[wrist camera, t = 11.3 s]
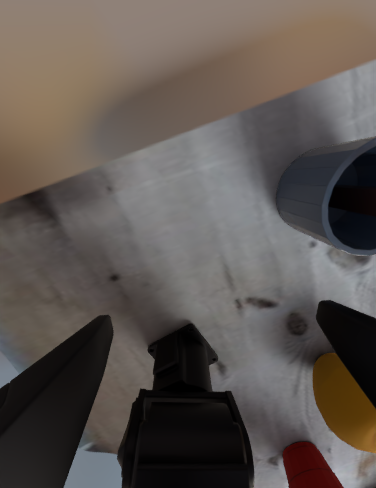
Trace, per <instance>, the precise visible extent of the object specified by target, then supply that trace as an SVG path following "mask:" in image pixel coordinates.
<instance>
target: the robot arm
mask: <svg viewBox="0 0 376 488" xmlns="http://www.w3.org/2000/svg"><path fill="white" fill-rule="evenodd" d="M316 320H317V322H318V324H319V326H320V328H321V329H322V331H323V333H324V334H325V336H326V338H327V339H328V341H329V343H330V344H331V346H332V348H333V349H334V351H335V353H336V354H337V356H338V357H339V359H340V360H341V362H342V363H343V364H344V366H345V367H346V369H347V370H348V371H349V373H350V374H351V376H352V377H353V378H354V380H355V381H356V382H357V384H358V385H359V387H360V388H361V389H362V391H363V392H364V394H365V395H366V396H367V398H368V399H369V401H370V402H371V403H372V405H373V406H374V407H375V409H376V318H374V317H371V316H369V315H366V314H364V313H361V312H359V311H356V310H354V309H351V308H349V307H346V306H344V305H341V304H339V303H336V302H334V301H331V300H324V301H320V302H319V304H318V309H317V314H316ZM189 328H192V329H189ZM112 339H113V326H112V322H111V317H110V316H109V315H100V316H98V317H96V318H95V319H94V320H92V321H91V322H90V323H88V324H87V325H86V326H84V327H83V328H82V329H80V330H79V331H77V332H76V333H75V334H73V335H72V336H71V337H69V338H68V339H67V340H65V341H64V342H63V343H61V344H60V345H59V346H57V347H56V348H55V349H53V350H52V351H50V352H49V353H48V354H46V355H45V356H44V357H42V358H41V359H40V360H38V361H37V362H36V363H34V364H33V365H32V366H30V367H29V368H27V369H26V370H25V371H23V372H22V373H21V374H19V375H18V376H17V377H15V378H14V379H13V380H11V381H10V383H7V384H6V385H4V386H3V387H2V388H0V488H63V487H64V485H65V481H66V479H67V476H68V473H69V470H70V468H71V465H72V462H73V459H74V456H75V454H76V451H77V448H78V445H79V442H80V440H81V437H82V434H83V431H84V428H85V426H86V423H87V420H88V417H89V414H90V411H91V409H92V406H93V403H94V400H95V397H96V395H97V392H98V389H99V386H100V383H101V380H102V377H103V374H104V371H105V367H106V363H107V359H108V355H109V351H110V347H111V343H112ZM148 353H149V354H150V355H151V356H152V357H153V358H154V359H155V362H154V369H153V374H154V381H153V389H152V390H146V389H140V392H139V396H138V398H137V397H136V401H134V402H133V404H132V409H131V413H130V418H129V422H128V425H127V428H126V431H125V434H124V436H123V439H122V442H121V444H120V447H119V450H118V456H117V460H118V462H119V464H120V466H121V468H122V473H121V475H122V488H253V487H254V464H253V456H252V450H251V445H250V441H249V437H248V433H247V430H246V428H245V425H244V423H243V420H242V418H241V415H240V412H239V410H238V407H237V405H236V402H235V400H234V397H233V395H232V392H231V391H225V392H212V385H211V378H210V372H209V365H211V364H213V363H215V362H217V361H218V356H217V354H216V353H215V352H214V351H213V349H212V348H211V347H210V345H209V344H208V343H207V341H206V340H205V339H204V338H203V336H202V335H201V334H200V332H199V331H198V330H197V328H196V327H195V326H194V325H193V324H189V325H187V326H185V327H183V328H181V329H179V330H177V331H175V332H173V333H171V334H169V335H168V336H166V337H164V338H162V339H160V340H158V341H157V342H155V343H153V344H151V345H149V346H148Z"/></svg>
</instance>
